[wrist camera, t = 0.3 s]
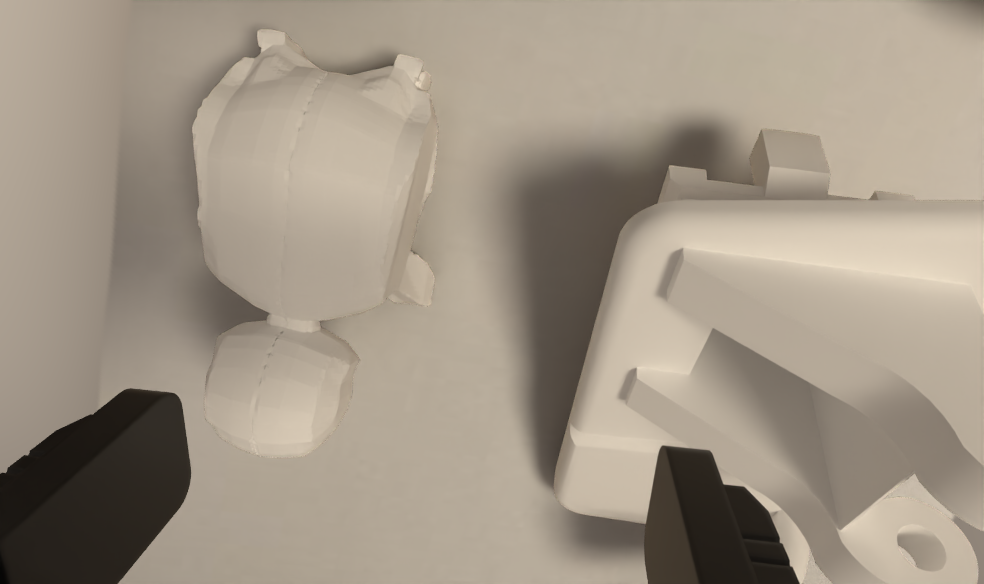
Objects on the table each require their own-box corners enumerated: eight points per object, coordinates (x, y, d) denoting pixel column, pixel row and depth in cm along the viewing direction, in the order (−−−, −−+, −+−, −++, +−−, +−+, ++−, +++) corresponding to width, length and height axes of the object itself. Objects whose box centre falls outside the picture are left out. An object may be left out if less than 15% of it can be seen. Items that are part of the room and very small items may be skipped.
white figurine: (282, 74, 29) (217, 403, 29) (187, -14, 21) (97, 451, 21) (470, 110, 29) (404, 442, 29) (453, 36, 20) (359, 507, 20)
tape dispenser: (769, 419, 35) (813, 700, 27) (559, 389, 36) (537, 654, 27) (1012, 92, 20) (1296, 504, 11) (638, 49, 20) (644, 410, 12)
